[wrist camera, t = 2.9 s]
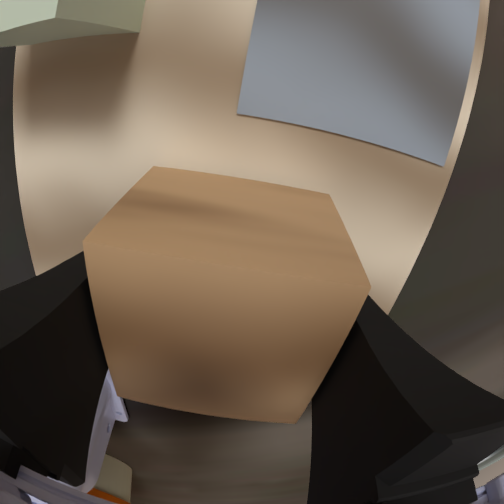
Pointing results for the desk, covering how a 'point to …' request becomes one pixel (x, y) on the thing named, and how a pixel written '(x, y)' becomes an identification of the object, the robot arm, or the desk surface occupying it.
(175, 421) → the desk surface
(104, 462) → the reusable coffee cup
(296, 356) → the oak block
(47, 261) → the baseplate
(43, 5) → the sage block
